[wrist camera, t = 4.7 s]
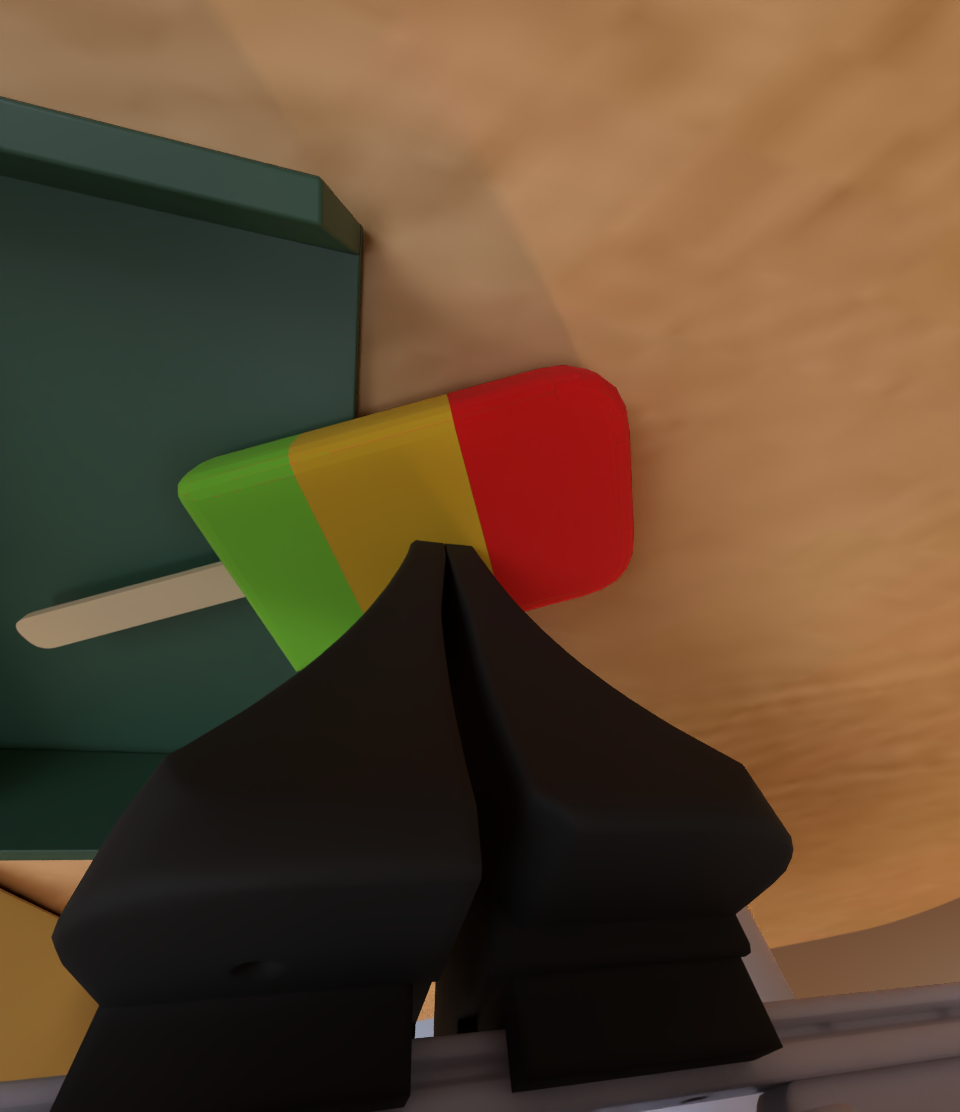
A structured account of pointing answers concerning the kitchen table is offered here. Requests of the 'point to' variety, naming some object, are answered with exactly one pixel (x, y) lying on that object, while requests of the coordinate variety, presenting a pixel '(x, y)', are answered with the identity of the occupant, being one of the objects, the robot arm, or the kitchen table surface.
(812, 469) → the kitchen table surface
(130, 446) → the dustpan
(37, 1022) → the cheese
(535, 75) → the kitchen table surface
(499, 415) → the popsicle
